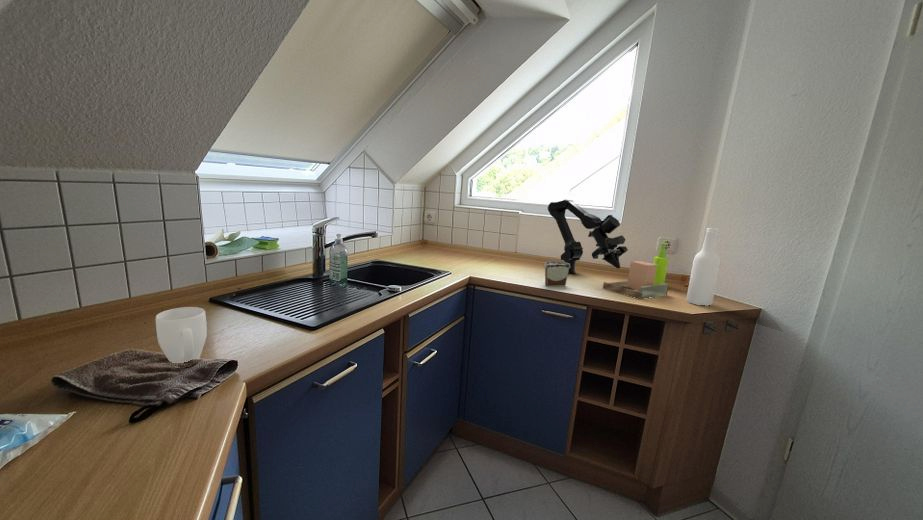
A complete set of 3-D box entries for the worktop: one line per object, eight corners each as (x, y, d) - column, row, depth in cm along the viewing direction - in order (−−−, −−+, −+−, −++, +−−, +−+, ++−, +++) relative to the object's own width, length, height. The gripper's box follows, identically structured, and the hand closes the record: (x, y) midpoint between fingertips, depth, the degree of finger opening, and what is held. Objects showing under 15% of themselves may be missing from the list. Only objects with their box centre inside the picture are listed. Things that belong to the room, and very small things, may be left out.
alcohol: (710, 302, 151) (725, 228, 145) (712, 308, 144) (728, 230, 138) (685, 298, 155) (698, 226, 149) (686, 303, 148) (700, 227, 142)
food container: (560, 282, 171) (563, 260, 169) (568, 285, 165) (571, 263, 163) (536, 282, 167) (538, 260, 165) (543, 286, 161) (546, 263, 159)
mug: (158, 362, 80) (153, 311, 77) (205, 352, 85) (201, 304, 83) (165, 386, 71) (159, 329, 69) (216, 373, 77) (212, 320, 75)
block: (627, 286, 161) (630, 261, 159) (635, 285, 164) (639, 260, 162) (644, 291, 154) (648, 265, 152) (652, 290, 158) (657, 264, 155)
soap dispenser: (666, 285, 177) (673, 243, 173) (661, 287, 172) (669, 244, 168) (652, 282, 181) (659, 241, 177) (648, 284, 176) (655, 242, 172)
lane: (602, 288, 164) (604, 277, 163) (629, 284, 174) (630, 273, 173) (640, 299, 149) (642, 287, 148) (666, 295, 159) (668, 283, 158)
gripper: (600, 229, 163) (618, 259, 157) (627, 229, 173) (645, 257, 166) (584, 243, 172) (600, 273, 165) (610, 242, 181) (626, 270, 175)
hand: (619, 268), depth 167 cm, fingers closed
